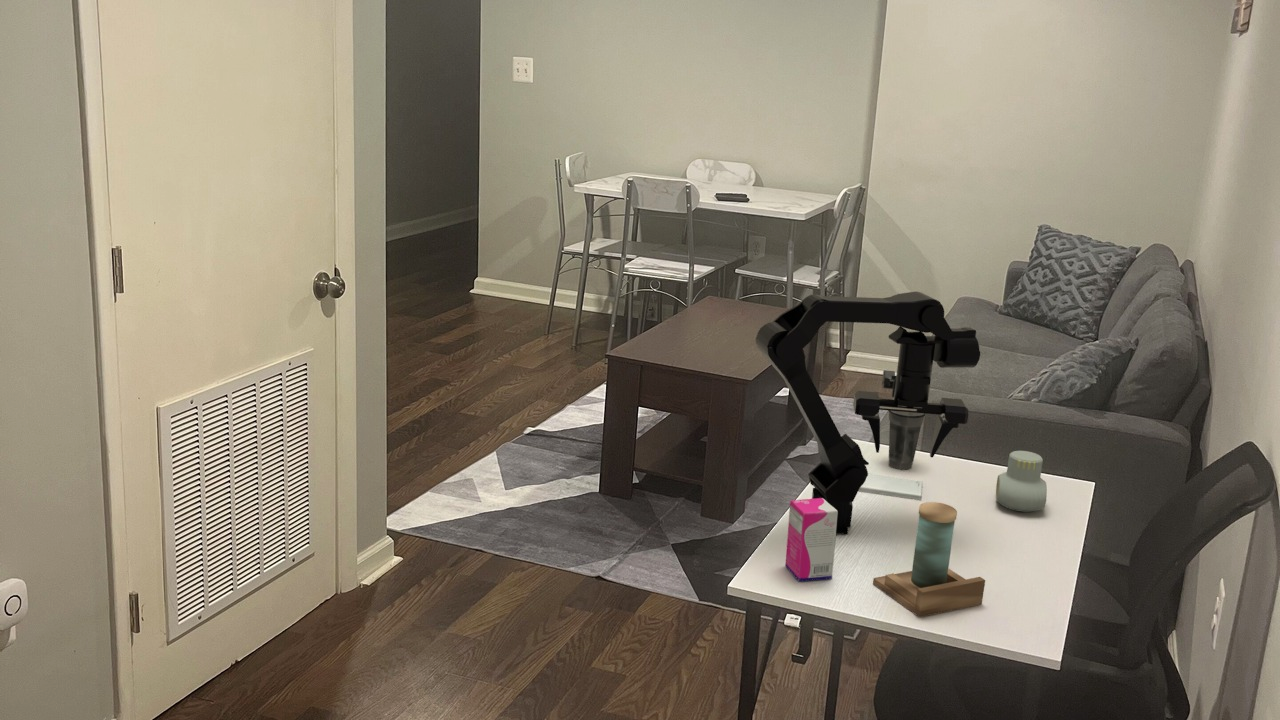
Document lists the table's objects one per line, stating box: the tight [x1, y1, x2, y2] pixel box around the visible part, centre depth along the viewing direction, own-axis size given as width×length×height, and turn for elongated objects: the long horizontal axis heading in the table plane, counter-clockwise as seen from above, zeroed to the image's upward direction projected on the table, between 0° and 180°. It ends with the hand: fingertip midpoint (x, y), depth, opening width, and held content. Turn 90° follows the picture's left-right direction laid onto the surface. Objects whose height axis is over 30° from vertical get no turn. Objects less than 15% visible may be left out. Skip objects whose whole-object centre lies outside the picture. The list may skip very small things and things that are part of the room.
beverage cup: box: [887, 397, 926, 471], centre depth 221 cm, size 7×7×20 cm
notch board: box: [872, 567, 986, 618], centre depth 169 cm, size 11×12×4 cm
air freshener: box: [995, 450, 1048, 513], centre depth 205 cm, size 11×8×10 cm
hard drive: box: [858, 473, 923, 501], centre depth 211 cm, size 2×8×12 cm
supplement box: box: [785, 498, 838, 583], centre depth 173 cm, size 6×6×12 cm
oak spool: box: [909, 501, 958, 589], centre depth 167 cm, size 6×6×13 cm
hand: (904, 454), depth 191 cm, fingers open, 9 cm apart
